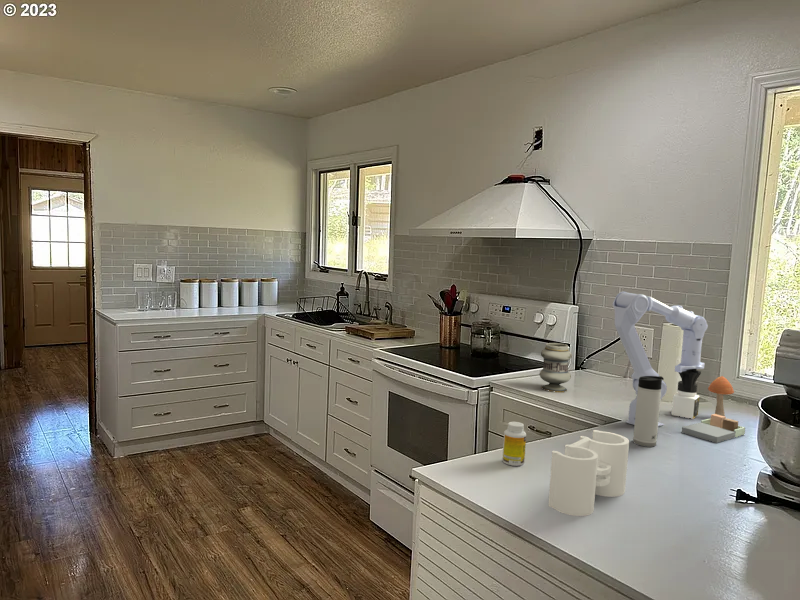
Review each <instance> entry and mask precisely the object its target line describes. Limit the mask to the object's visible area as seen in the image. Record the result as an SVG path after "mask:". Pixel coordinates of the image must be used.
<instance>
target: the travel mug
mask: <svg viewBox="0 0 800 600" xmlns="http://www.w3.org/2000/svg"><path fill="white" fill-rule="evenodd" d="M662 380H663V381H664V377H663V376H662V375H661V376H660V375H659V377H657V376H642V377H640V378H639V384H638V392H637V395H636V396H637V403H636V414H635V425H634V427H633V428H634V429H633V438H632V439H633V440H632V441H633V443H634V444H635V445H637V444H638V445H637V446H640V445H641V446H640V447H645V446H647V448H651V447H653V446H654V447H655V446H657V439H658V428H659V426H658V422H659V417H660V407H661V400H660V399H661V385H662ZM654 447H653V448H654Z"/></svg>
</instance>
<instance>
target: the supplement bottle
mask: <svg viewBox="0 0 800 600" xmlns="http://www.w3.org/2000/svg"><path fill="white" fill-rule="evenodd" d="M524 426H525V425H524V423H522V422H519V421H510V422H508V423H507V429H505V430H504V431H503V444H502V458H501V459H502V462H503V463H504V464H505V465H507V466H512V467H520V466H522V465H524V464H525V459H526V458H525V454H526V445H527V443H526V441H527V433H526V431H525V430H524V429H525V427H524Z"/></svg>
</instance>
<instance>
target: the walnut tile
mask: <svg viewBox="0 0 800 600" xmlns="http://www.w3.org/2000/svg"><path fill="white" fill-rule="evenodd" d="M738 426H739V421H738V420H736V419H731V418H728V417H726V419H723V427H722V428H723V429H726V430H730V431H734V430H735V429H738Z"/></svg>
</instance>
